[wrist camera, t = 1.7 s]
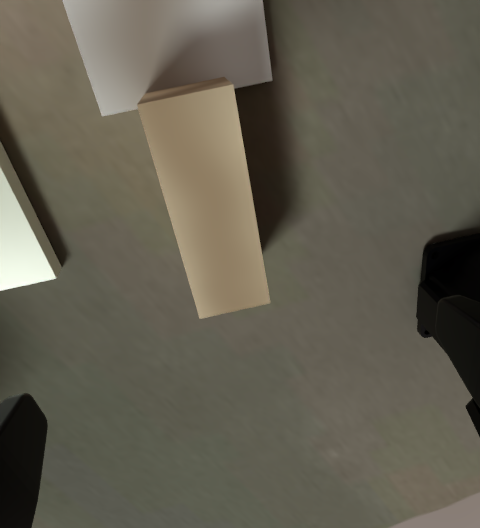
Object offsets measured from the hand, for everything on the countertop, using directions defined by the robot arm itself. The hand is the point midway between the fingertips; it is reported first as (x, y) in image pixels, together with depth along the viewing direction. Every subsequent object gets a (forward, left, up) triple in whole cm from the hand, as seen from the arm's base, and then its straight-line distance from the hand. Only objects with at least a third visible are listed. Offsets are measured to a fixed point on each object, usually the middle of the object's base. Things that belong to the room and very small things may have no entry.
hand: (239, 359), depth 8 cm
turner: (0, -4, -12) cm, 12 cm away
